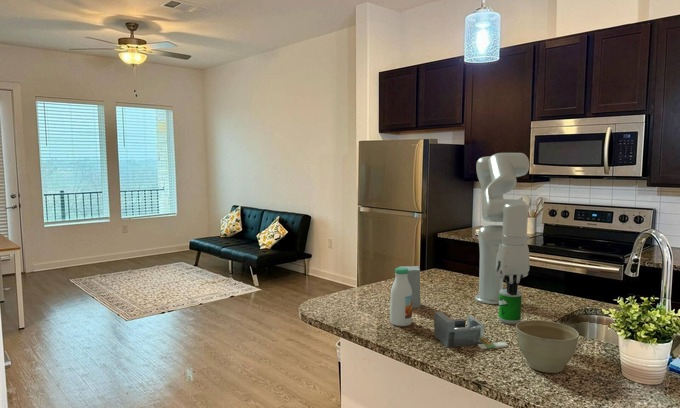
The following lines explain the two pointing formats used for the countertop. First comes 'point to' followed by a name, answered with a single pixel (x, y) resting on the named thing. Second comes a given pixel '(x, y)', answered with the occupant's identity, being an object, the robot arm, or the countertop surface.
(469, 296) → the countertop surface
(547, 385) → the countertop surface
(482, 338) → the plunger
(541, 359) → the planter bowl
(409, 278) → the skincare box
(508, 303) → the soda can
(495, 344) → the strip
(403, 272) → the milk bottle
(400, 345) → the countertop surface
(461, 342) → the bracket
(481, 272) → the robot arm
